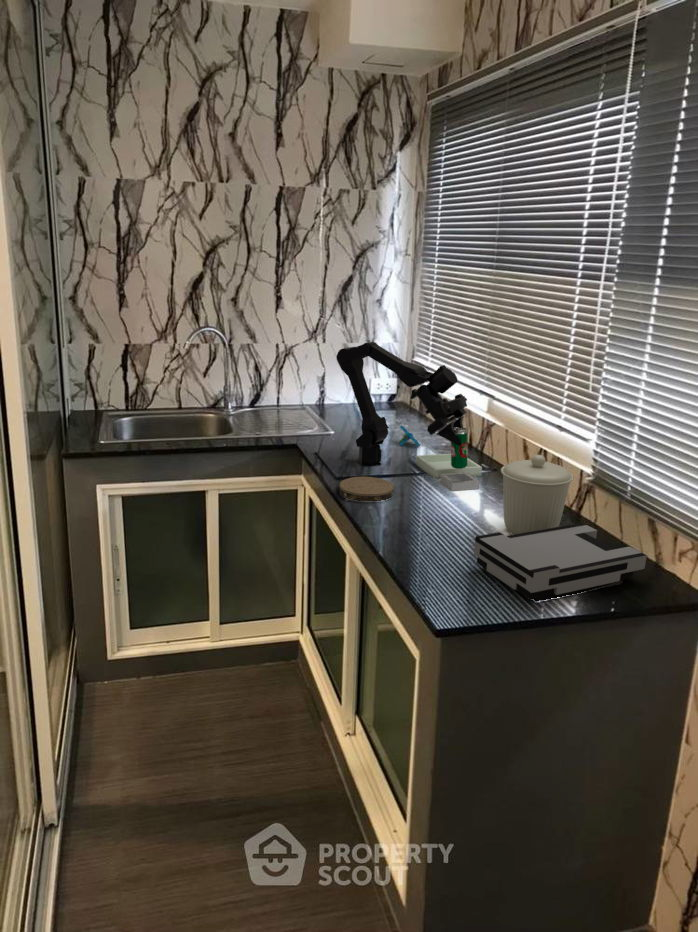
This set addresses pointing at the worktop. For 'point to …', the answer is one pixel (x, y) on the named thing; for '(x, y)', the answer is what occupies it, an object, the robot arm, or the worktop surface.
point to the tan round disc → (366, 489)
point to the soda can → (460, 449)
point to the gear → (407, 437)
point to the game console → (555, 561)
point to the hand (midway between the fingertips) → (463, 443)
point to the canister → (534, 494)
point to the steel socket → (459, 481)
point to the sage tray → (444, 465)
